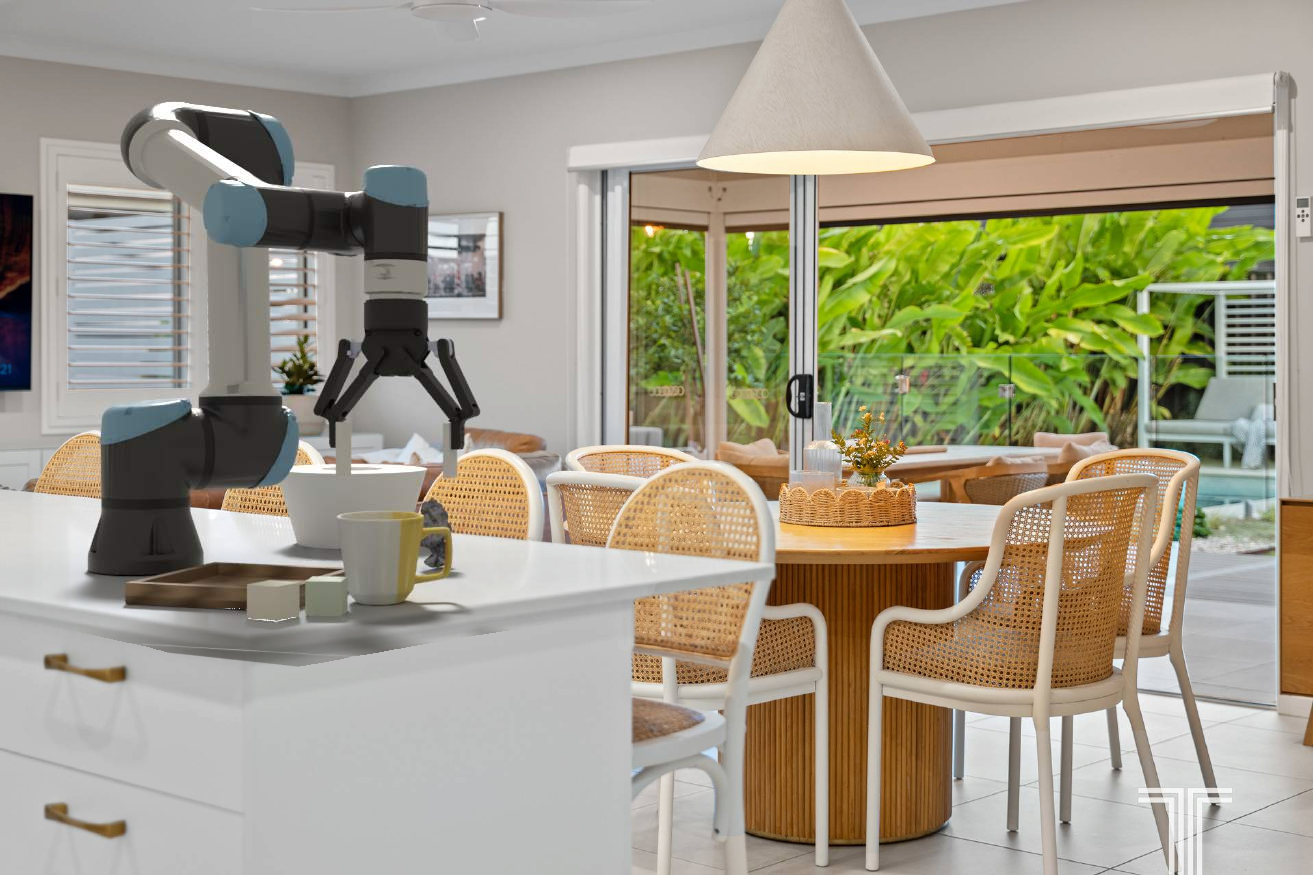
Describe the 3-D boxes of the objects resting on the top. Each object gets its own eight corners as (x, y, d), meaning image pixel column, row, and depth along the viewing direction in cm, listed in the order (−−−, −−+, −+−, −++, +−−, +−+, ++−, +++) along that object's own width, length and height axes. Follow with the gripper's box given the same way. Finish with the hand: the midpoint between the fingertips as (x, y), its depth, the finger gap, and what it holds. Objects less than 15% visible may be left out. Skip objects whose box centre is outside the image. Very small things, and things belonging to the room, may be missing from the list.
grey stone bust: (445, 570, 201) (445, 499, 200) (408, 569, 202) (408, 498, 202) (457, 566, 206) (458, 496, 206) (422, 564, 207) (422, 495, 207)
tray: (125, 603, 169) (125, 582, 169) (214, 580, 188) (214, 561, 188) (282, 612, 165) (282, 590, 164) (356, 587, 184) (357, 568, 184)
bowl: (415, 552, 222) (415, 474, 221) (258, 550, 222) (258, 472, 221) (436, 535, 246) (436, 465, 245) (294, 534, 246) (294, 463, 245)
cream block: (247, 620, 159) (246, 584, 159) (270, 615, 163) (270, 579, 163) (276, 623, 158) (276, 586, 158) (299, 617, 161) (299, 582, 161)
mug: (333, 609, 167) (333, 518, 167) (339, 595, 177) (339, 510, 177) (452, 607, 169) (453, 518, 169) (451, 594, 179) (452, 510, 179)
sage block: (305, 616, 162) (305, 581, 162) (312, 610, 166) (312, 576, 166) (341, 616, 162) (341, 581, 162) (347, 611, 166) (347, 576, 166)
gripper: (284, 297, 171) (285, 476, 172) (484, 295, 165) (484, 480, 166) (313, 301, 178) (314, 473, 179) (506, 299, 173) (506, 476, 173)
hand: (396, 477), depth 172 cm, fingers open, 13 cm apart
